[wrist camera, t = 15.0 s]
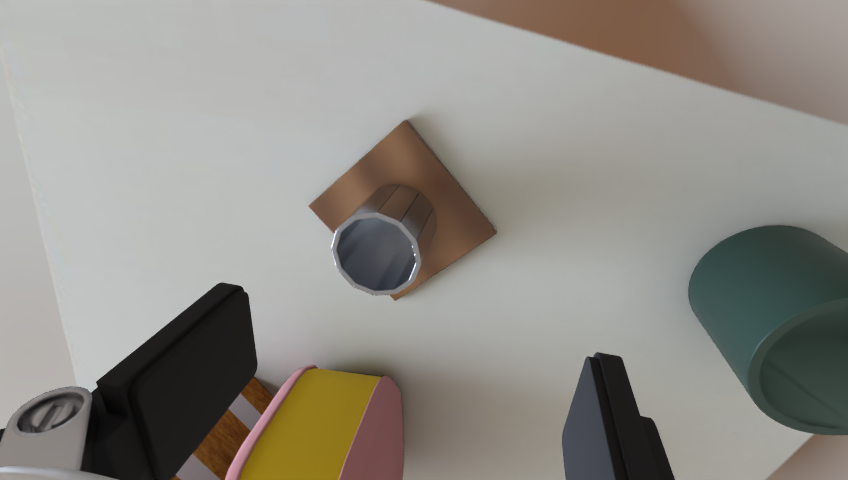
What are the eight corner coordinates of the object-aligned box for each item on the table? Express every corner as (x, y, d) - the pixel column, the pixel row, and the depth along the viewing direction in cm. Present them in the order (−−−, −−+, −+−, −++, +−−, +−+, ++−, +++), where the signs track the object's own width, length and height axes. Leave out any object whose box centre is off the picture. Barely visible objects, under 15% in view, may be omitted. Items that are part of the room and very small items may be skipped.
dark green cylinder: (803, 198, 31) (921, 261, 22) (864, 300, 33) (996, 396, 24) (663, 270, 35) (714, 348, 26) (726, 357, 37) (793, 456, 28)
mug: (261, 362, 48) (163, 483, 35) (301, 447, 53) (229, 582, 40) (129, 371, 54) (1, 480, 40) (177, 448, 58) (77, 568, 45)
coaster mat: (406, 119, 34) (404, 120, 33) (497, 230, 36) (496, 233, 36) (310, 204, 39) (307, 206, 38) (396, 297, 41) (395, 301, 40)
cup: (401, 168, 35) (377, 195, 29) (451, 228, 36) (438, 265, 30) (348, 213, 38) (314, 246, 31) (396, 267, 39) (374, 309, 33)
